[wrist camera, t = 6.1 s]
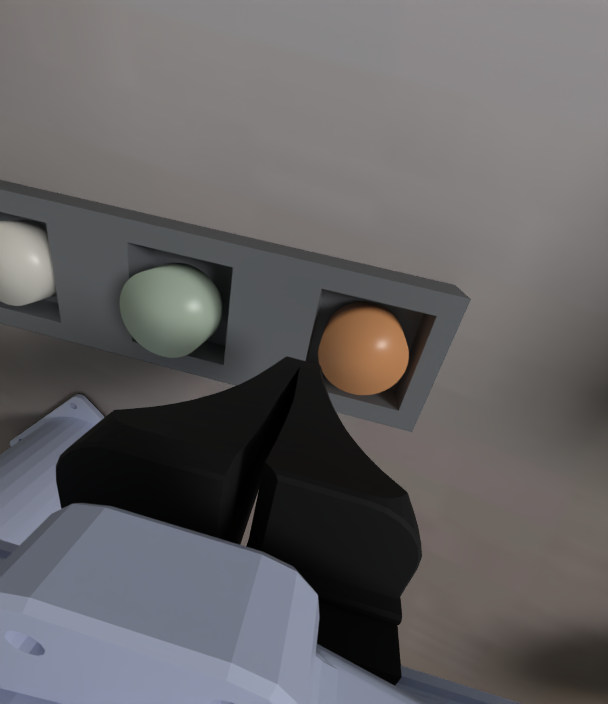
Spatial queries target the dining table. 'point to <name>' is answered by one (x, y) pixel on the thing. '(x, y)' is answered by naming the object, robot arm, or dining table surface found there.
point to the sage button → (171, 309)
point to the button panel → (228, 297)
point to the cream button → (25, 263)
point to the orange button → (363, 349)
